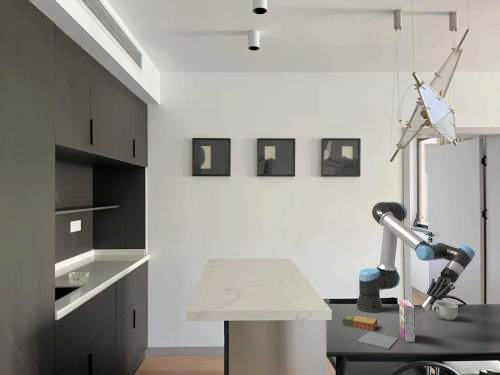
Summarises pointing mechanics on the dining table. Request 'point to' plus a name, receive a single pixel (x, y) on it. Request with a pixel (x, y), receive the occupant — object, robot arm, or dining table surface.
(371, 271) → the robot arm
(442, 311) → the teacup
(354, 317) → the carton
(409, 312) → the candy bar box
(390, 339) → the mat
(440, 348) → the dining table surface
